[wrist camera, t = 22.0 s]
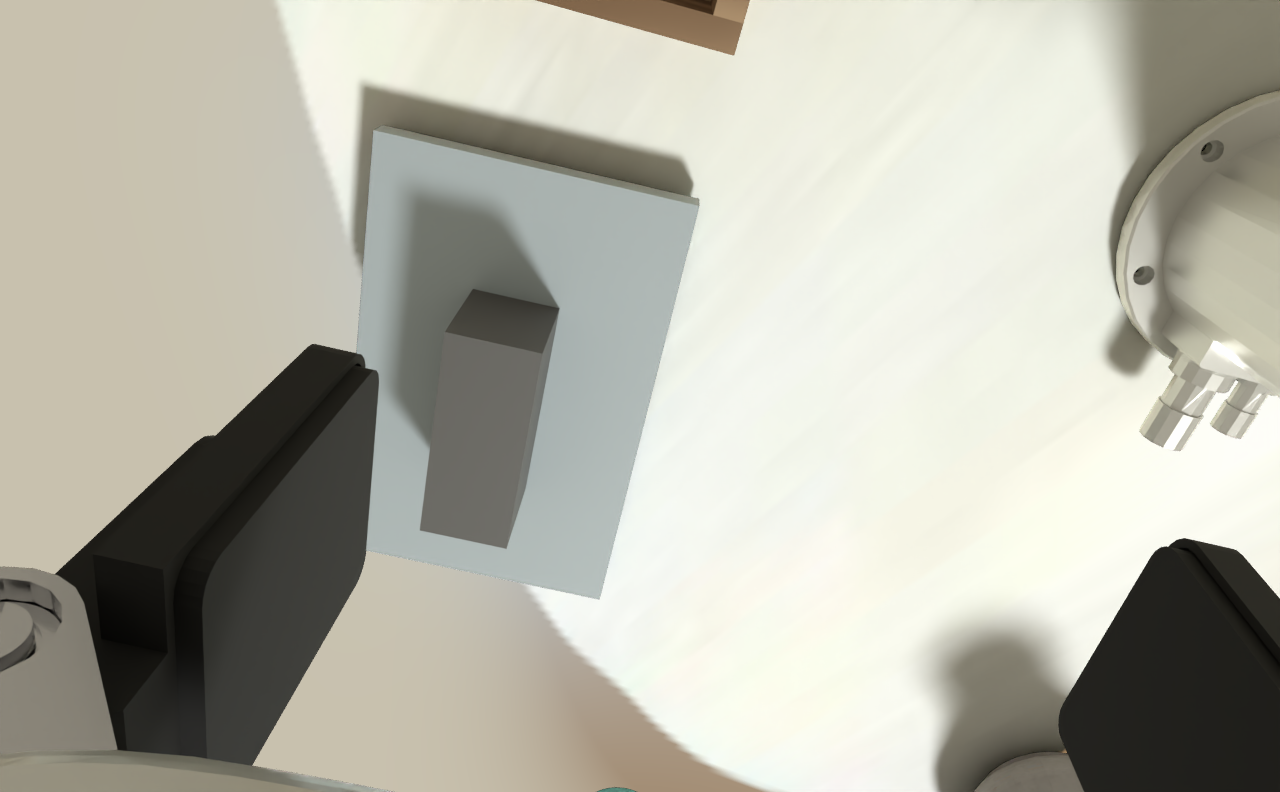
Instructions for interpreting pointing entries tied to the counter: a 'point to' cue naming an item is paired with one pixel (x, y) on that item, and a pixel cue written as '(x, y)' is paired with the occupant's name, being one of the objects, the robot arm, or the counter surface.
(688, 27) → the chest
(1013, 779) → the coffee pot
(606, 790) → the cupcake
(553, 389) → the lid
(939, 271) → the counter surface
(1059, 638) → the counter surface
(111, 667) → the robot arm
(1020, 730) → the counter surface
